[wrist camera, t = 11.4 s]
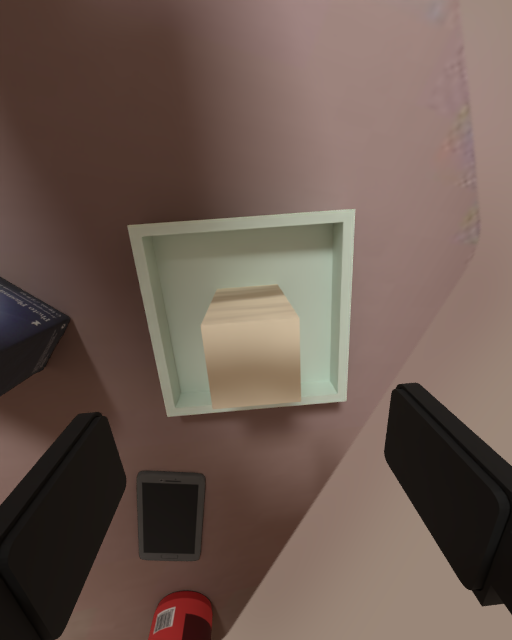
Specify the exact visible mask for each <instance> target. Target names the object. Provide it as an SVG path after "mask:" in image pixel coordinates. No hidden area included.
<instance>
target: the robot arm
mask: <svg viewBox="0 0 512 640" xmlns="http://www.w3.org/2000/svg"><path fill="white" fill-rule="evenodd" d="M384 454H385V458H386V461H387V463H388V465H389V467H390V468H391V470H392V472H393V473H394V475H395V476H396V478H397V480H398V481H399V483H400V484H401V486H402V488H403V489H404V491H405V493H406V494H407V496H408V497H409V499H410V501H411V502H412V504H413V506H414V507H415V509H416V510H417V512H418V514H419V515H420V517H421V518H422V520H423V522H424V523H425V525H426V527H427V528H428V530H429V531H430V533H431V535H432V536H433V538H434V539H435V541H436V543H437V544H438V546H439V548H440V549H441V551H442V553H443V554H444V556H445V557H446V559H447V560H448V562H449V564H450V565H451V567H452V568H453V570H454V572H455V573H456V575H457V577H458V578H459V580H460V581H461V583H462V584H463V585H464V586H465V588H467V589H468V590H472V591H473V593H474V594H475V596H476V598H477V599H478V601H479V602H480V604H481V605H482V606H489V605H497V604H505V606H506V607H507V609H508V610H509V611H510V613H511V614H512V466H511V465H510V464H509V463H507V462H506V461H505V460H504V459H503V458H501V456H500V455H498V454H497V453H496V452H495V451H494V450H493V449H492V448H491V447H490V446H488V445H487V444H486V443H485V442H484V441H483V440H482V439H481V438H479V437H478V436H477V435H476V434H475V433H474V432H473V431H472V430H470V429H469V428H468V427H467V426H466V425H465V424H464V423H463V422H461V421H460V420H459V419H458V418H457V417H456V416H455V415H454V414H452V413H451V412H450V411H449V410H448V409H447V408H446V407H445V406H444V405H442V404H441V403H440V402H439V401H438V400H437V399H436V398H435V397H433V396H432V395H431V394H430V393H429V392H428V391H427V390H426V389H424V388H423V387H422V386H421V385H420V384H418V383H406V384H399V385H397V387H396V389H394V390H393V391H392V393H391V401H390V409H389V418H388V425H387V433H386V441H385V450H384ZM125 487H126V475H125V472H124V469H123V466H122V463H121V460H120V456H119V453H118V450H117V447H116V444H115V441H114V438H113V434H112V431H111V428H110V425H109V422H108V419H107V417H105V416H102V414H101V413H99V412H93V413H83V414H78V415H77V416H76V417H75V418H74V419H73V420H72V422H71V423H70V424H69V425H68V426H67V427H66V429H65V430H64V431H63V432H62V433H61V435H60V436H59V437H58V438H57V439H56V440H55V442H54V443H53V444H52V445H51V446H50V448H49V449H48V450H47V451H46V452H45V453H44V455H43V456H42V457H41V458H40V459H39V460H38V462H37V463H36V464H35V465H34V466H33V468H32V469H31V470H30V471H29V472H28V473H27V475H26V476H25V477H24V478H23V479H22V481H21V482H20V483H19V484H18V485H17V486H16V488H15V489H14V490H13V491H12V492H11V494H10V495H9V496H8V497H7V498H6V499H5V501H4V502H3V503H2V504H1V505H0V640H55V639H58V638H59V637H60V636H61V634H62V633H63V631H64V629H65V627H66V625H67V623H68V621H69V618H70V616H71V614H72V611H73V609H74V607H75V604H76V602H77V600H78V597H79V595H80V593H81V590H82V588H83V586H84V584H85V581H86V579H87V577H88V574H89V572H90V570H91V567H92V565H93V563H94V560H95V558H96V556H97V553H98V551H99V549H100V546H101V544H102V542H103V539H104V537H105V535H106V532H107V530H108V528H109V525H110V523H111V521H112V518H113V516H114V514H115V511H116V509H117V507H118V504H119V502H120V500H121V498H122V495H123V493H124V490H125Z"/></svg>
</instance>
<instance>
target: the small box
mask: <svg viewBox="0 0 512 640" xmlns="http://www.w3.org/2000/svg"><path fill="white" fill-rule="evenodd" d="M69 321H70V318H69V317H68V316H67V315H65V314H63V313H61V312H60V311H58V310H56V309H54V308H53V307H51V306H49V305H47V304H46V303H44V302H42V301H41V300H39V299H37V298H35V297H34V296H32V295H30V294H29V293H27V292H25V291H23V290H22V289H20V288H18V287H17V286H15V285H13V284H11V283H10V282H8V281H6V280H5V279H3V278H1V277H0V396H2V395H3V394H5V393H6V392H8V391H9V390H11V389H12V388H14V387H15V386H16V385H18V384H20V383H21V382H23V381H24V380H26V379H27V378H29V377H30V376H32V375H33V374H35V373H37V372H40V371H42V370H44V367H45V366H46V364H47V361H48V359H49V358H50V355H51V353H52V352H53V350H54V348H55V346H56V344H57V343H58V341H59V339H60V338H61V336H63V334H64V332H65V330H66V327H67V325H68V323H69Z"/></svg>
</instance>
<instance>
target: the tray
mask: <svg viewBox="0 0 512 640" xmlns="http://www.w3.org/2000/svg"><path fill="white" fill-rule="evenodd" d="M354 226H355V209H347V210H332V211H318V212H304V213H290V214H276V215H262V216H248V217H234V218H220V219H206V220H192V221H178V222H164V223H150V224H136V225H127V227H128V232H129V237H130V242H131V246H132V251H133V256H134V261H135V266H136V270H137V275H138V280H139V285H140V289H141V294H142V299H143V304H144V308H145V313H146V318H147V323H148V327H149V332H150V337H151V342H152V346H153V351H154V356H155V361H156V366H157V370H158V375H159V380H160V385H161V389H162V394H163V399H164V404H165V408H166V413H167V417H172V416H183V415H194V414H206V413H217V412H228V411H240V410H251V409H263V408H274V407H285V406H297V405H308V404H319V403H331V402H342V401H346V399H347V377H348V356H349V334H350V312H351V291H352V269H353V248H354ZM272 284H278V286H279V287H280V289H281V290H282V292H283V293H284V295H285V296H286V298H287V299H288V301H289V302H290V304H291V305H292V307H293V309H294V310H295V312H296V313H297V315H298V316H299V318H300V370H301V402H291V403H279V404H268V405H257V406H246V407H234V408H223V409H213V408H212V402H211V395H210V388H209V381H208V374H207V367H206V360H205V353H204V346H203V340H202V333H201V324H202V321H203V319H204V317H205V315H206V312H207V310H208V308H209V306H210V303H211V301H212V299H213V297H214V294H215V292H216V290H217V289H221V288H234V287H247V286H260V285H272Z"/></svg>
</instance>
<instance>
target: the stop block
mask: <svg viewBox="0 0 512 640" xmlns="http://www.w3.org/2000/svg"><path fill="white" fill-rule="evenodd" d="M201 333H202V340H203V346H204V353H205V360H206V367H207V374H208V381H209V388H210V395H211V402H212V408H213V409H223V408H234V407H246V406H257V405H268V404H279V403H291V402H301V370H300V318H299V316H298V315H297V313H296V312H295V310H294V309H293V307H292V305H291V304H290V302H289V301H288V299H287V298H286V296H285V295H284V293H283V292H282V290H281V289H280V287H279V286H278V284H272V285H260V286H247V287H234V288H221V289H217V290H216V292H215V294H214V297H213V299H212V301H211V303H210V306H209V308H208V310H207V312H206V315H205V317H204V319H203V321H202V324H201Z"/></svg>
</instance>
